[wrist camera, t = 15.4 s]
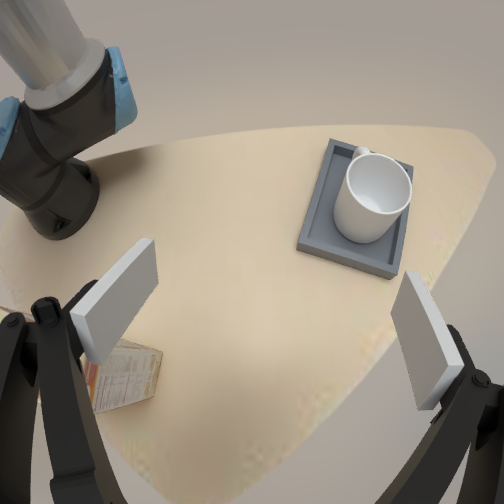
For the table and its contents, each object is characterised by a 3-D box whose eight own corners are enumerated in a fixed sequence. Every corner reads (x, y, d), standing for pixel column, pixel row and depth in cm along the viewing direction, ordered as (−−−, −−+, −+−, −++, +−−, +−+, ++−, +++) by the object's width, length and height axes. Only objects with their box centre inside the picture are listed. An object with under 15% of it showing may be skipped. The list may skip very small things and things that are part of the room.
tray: (296, 249, 43) (297, 242, 40) (327, 149, 48) (329, 138, 45) (389, 279, 40) (397, 274, 38) (407, 176, 45) (413, 166, 42)
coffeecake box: (70, 366, 39) (-24, 361, 21) (79, 323, 41) (-14, 298, 23) (154, 399, 37) (72, 424, 19) (164, 351, 40) (83, 345, 21)
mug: (324, 172, 45) (334, 129, 36) (374, 171, 45) (394, 130, 35) (336, 247, 42) (353, 215, 32) (391, 243, 41) (419, 213, 31)
